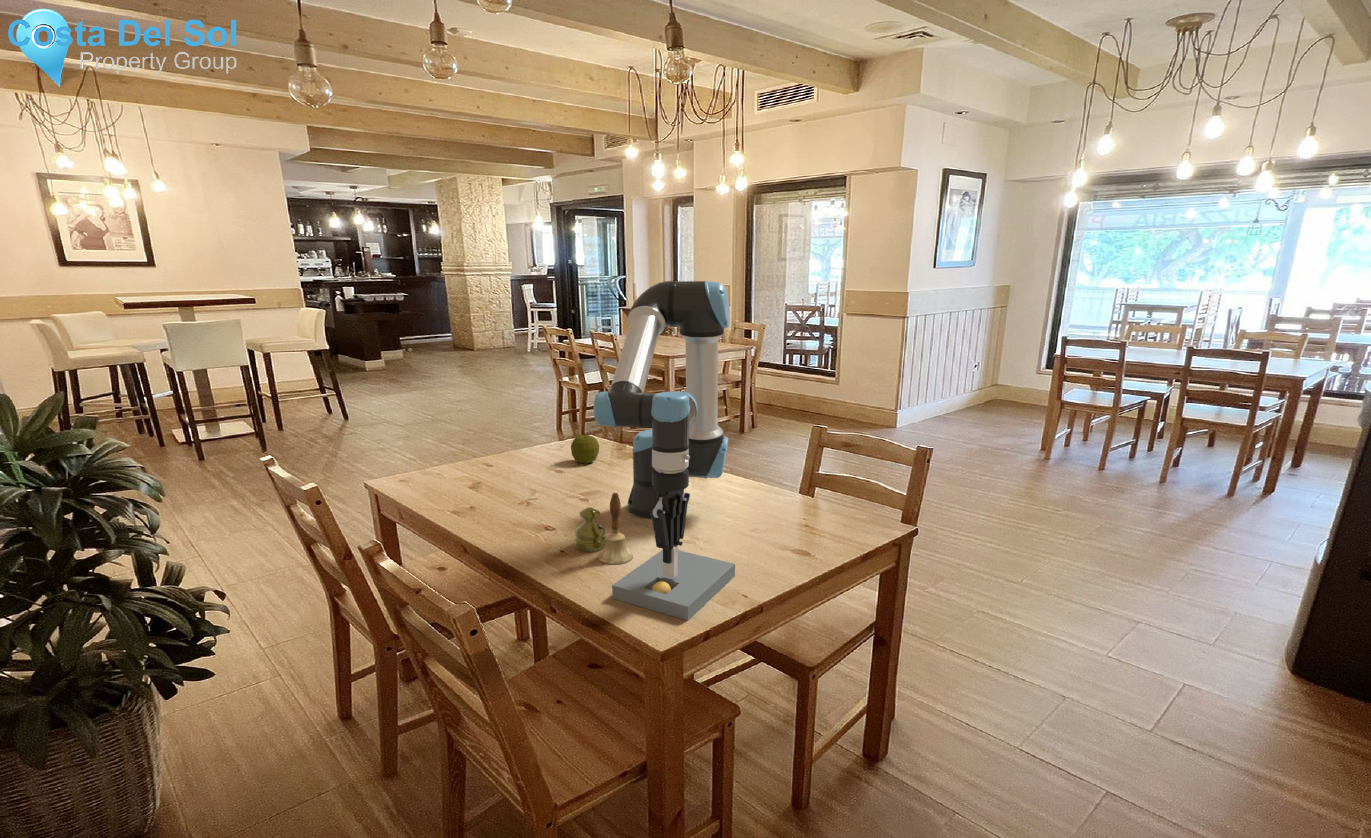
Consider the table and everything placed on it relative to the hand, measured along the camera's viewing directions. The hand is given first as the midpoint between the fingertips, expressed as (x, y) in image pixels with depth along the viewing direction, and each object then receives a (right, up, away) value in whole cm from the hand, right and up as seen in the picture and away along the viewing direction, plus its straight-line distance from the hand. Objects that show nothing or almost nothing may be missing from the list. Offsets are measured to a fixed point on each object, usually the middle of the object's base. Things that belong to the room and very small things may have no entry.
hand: (670, 574), depth 137 cm
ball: (-1, -2, -1) cm, 3 cm away
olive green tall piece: (-20, +1, +24) cm, 31 cm away
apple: (-33, +17, +95) cm, 102 cm away
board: (+1, -3, +3) cm, 5 cm away
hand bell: (-13, 0, +18) cm, 22 cm away
